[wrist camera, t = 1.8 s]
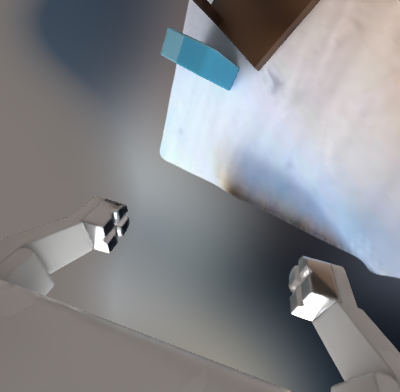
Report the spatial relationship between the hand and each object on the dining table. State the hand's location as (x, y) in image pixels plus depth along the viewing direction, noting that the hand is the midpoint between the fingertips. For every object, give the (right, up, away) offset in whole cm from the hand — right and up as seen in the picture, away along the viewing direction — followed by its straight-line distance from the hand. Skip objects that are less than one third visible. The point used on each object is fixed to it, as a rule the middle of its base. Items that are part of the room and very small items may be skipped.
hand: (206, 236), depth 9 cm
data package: (+3, +30, +36) cm, 47 cm away
